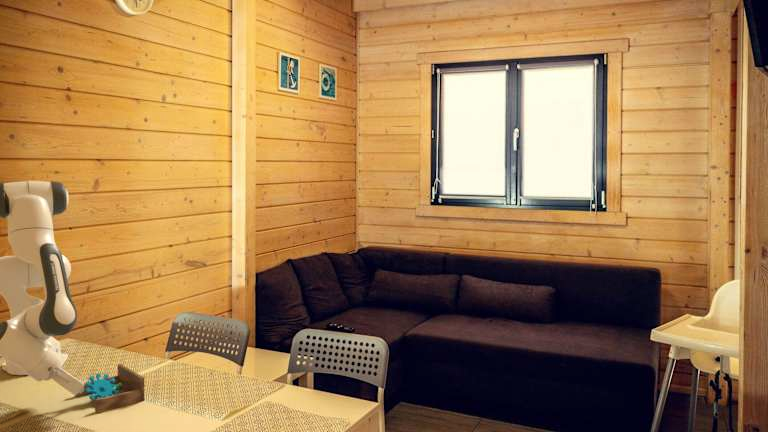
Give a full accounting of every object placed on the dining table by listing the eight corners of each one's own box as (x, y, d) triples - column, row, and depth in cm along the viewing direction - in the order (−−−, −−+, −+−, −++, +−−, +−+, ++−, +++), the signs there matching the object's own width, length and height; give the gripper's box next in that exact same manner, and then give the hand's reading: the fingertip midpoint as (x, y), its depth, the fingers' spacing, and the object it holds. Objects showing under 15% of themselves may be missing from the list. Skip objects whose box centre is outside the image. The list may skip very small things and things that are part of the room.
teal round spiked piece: (91, 403, 187) (83, 373, 192) (83, 414, 190) (74, 384, 194) (128, 398, 196) (118, 369, 200) (119, 409, 198) (110, 380, 203)
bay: (96, 412, 185) (95, 388, 184) (74, 396, 197) (74, 373, 196) (144, 400, 195) (144, 377, 194) (121, 385, 207) (120, 363, 206)
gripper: (65, 363, 176) (102, 390, 184) (40, 347, 191) (76, 372, 198) (47, 383, 173) (86, 409, 181) (24, 365, 188) (61, 390, 196)
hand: (81, 390), depth 190 cm, fingers closed
